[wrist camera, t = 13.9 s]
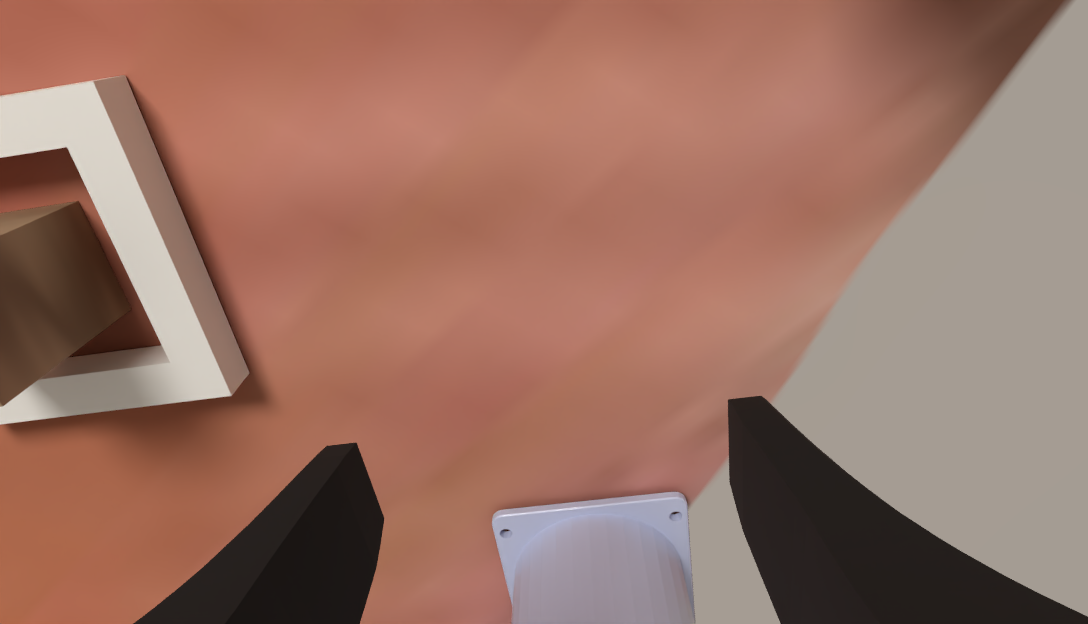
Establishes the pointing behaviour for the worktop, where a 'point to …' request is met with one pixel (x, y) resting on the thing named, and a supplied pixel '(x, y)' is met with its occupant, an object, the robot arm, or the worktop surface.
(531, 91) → the worktop surface
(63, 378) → the white square frame
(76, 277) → the brown block
